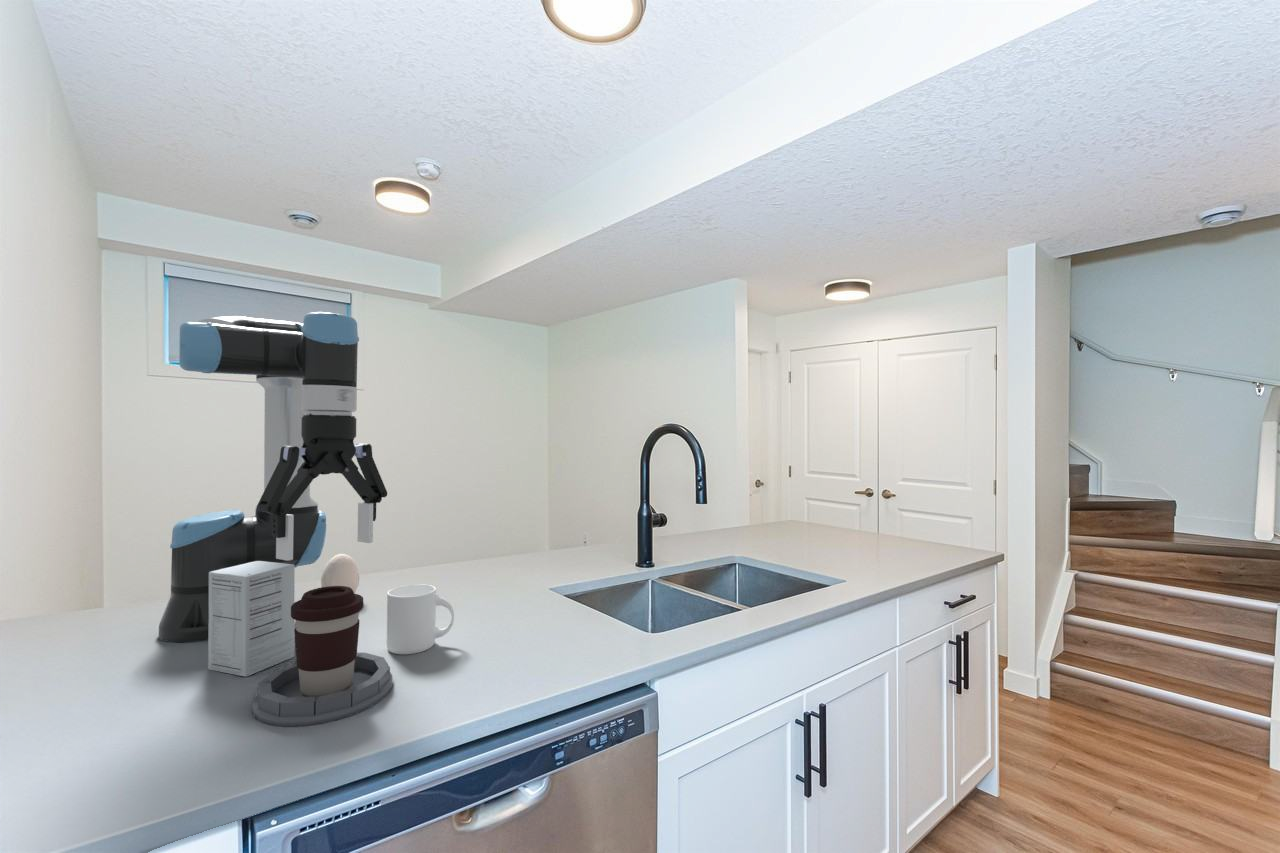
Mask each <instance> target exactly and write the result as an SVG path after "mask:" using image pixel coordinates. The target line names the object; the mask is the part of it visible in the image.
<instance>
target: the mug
mask: <svg viewBox="0 0 1280 853" xmlns="http://www.w3.org/2000/svg"><path fill="white" fill-rule="evenodd" d="M386 594H387V595H386V603H387V604H386V648H387V650H388V651H389V652H390V653H392V654H394V655H403V656H404V655H413V654H418V653H421V652H425V651H427V650H429V649H430V648H432V647H433V646H434V644H435V642H436V639H438V638H441V637H444V636H446V635H447V634H448V633H449V632H450V630H451V629H452V626H453V625H454V620H455V612H454V608H453V606H452V605H451V603H450V602H449V601H448V600H447V599H445V598H444V597H442V596H440V595H437V588H436V587H435V586H434V585H430V584H425V583H424V584H422V583H421V584H420V583H416V584H415V583H414V584H406V585H405V584H404V585H399V586H397V587H394V588H391V589H389V590H388V591H387V593H386ZM437 606H439V607H440V606H441V607H444V608H446V609H448V610H449V612H450V614H451V620H450V622H449V623H448V625H447V626H445V627H444V628H440V627H436V624H437V622H436V619H437V618H436V616H437V614H436V613H437V608H436V607H437Z"/></svg>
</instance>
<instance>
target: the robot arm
mask: <svg viewBox="0 0 1280 853" xmlns="http://www.w3.org/2000/svg"><path fill="white" fill-rule="evenodd" d="M359 341H360V338H359V333H358V322H357V320H356V319H355V318H354V317H352V316H350V315H346V314H341V313H334V312H327V311H326V312H323V311H317V312H316V311H314V312H309V313H306V314H305V316H304V317H303V323H301V322H297V321H287V320H277V319H267V318H255V317H247V316H241V315H240V316H239V315H229V316H228V315H226V316H215V317H208V318H204V319H200V320H198V321H196V322H194V321H184V322H182V323H181V324H180V327H179V347H178V348H179V351H178V352H179V362H178V363H179V367H180V368H181V369H182V370H183V371H188V372H195V373H196V372H197V373H202V374H222V375H223V374H227V375H248V376H249V375H251V376H256V377H255V378H256V379H255V381H256V383H258V384H259V386H261V387H262V388H263V389H264V435H263V436H264V439H263V441H264V442H263V444H264V445H263V446H264V449H263V450H264V452H263V454H264V455H263V458H264V459H263V460H264V461H263V462H264V465H263V472H264V474H263V475H264V476H263V482H264V484H263V490H264V491H263V492H262V495H261V496H260V498H259V501H258V503H257V505H256V506H255V515H254V516H245V514H244V512H243V511H242V510H238V509H235V510H222V511H221V510H220V511H215V512H210V513H209V512H208V513H205V514H199V515H195V516H191V517H188V518H185V519H184V518H183V519H182V520H180V521H178V522H177V523H175V525H174V526H173V528H172V530H171V531H172V532H171V543H170V545H169V548H170V549H171V566H170V567H171V569H170V570H171V571H170V572H171V573H170V595H169V596H170V597H169V600H168V602H167V604H166V607H165V608H164V612H163V614H162V617H161V620H160V621H159V624H158V639H159V640H160V641H163V642H169V643H170V642H171V643H189V642H199V641H205V640H208V628H209V572H211V571H215V570H219V569H224V568H228V567H233V566H237V565H241V564H245V563H249V562H254V561H266V562H275V563H285V564H294V565H295V568H298V567H303V566H306V565H311V564H315V563H316V562H317V561H318V560H319V559H320V557H321V555H322V553H323V549H324V546H325V540H326V534H327V523H326V522H327V514H326V513H325V512H324V511H322V510H318V506H319V504H318V503H317V501H315V500H314V499H313V498H312V497H311V483H312V482H313V480H314V479H316V478H318V477H319V476H320V475H329V474H341V475H342V476H343V477H344V478H345V479H346V480H347V482H348V483H349V485H350V486H351V487H352V488H353V490H354V491H355V492H356V493H357V495H358V496H359V497H360V498H361V500H362V501H361V502H357V505H358V506H357V542H358V543H365V544H371V543H373V542H374V539H373V538H374V522H376V519H377V503H378V504H380V503H381V502H382V498H386V497H387V496H388V491H387V489H386V486H385V483H384V481H383V479H382V476H381V475H380V474H381V473H380V471H379V469H378V467H377V464H376V463H375V460H374V458H373V447H372V444H370V443H356V444H355V443H354V441H355V438H356V437H357V417H356V416H354V415H353V413H355V412H356V411H357V407H358V406H357V403H358V402H357V400H358V399H357V396H358V395H357V394H358V388H357V387H358V386H357V384H358V383H357V382H358V379H357V378H358V349H359V348H358V346H359V345H358V344H359ZM354 457H355V458H356V461H357V464H356V463H355V462H354V460H353V458H354ZM357 465H358V466H359V467H358V466H357ZM359 468H360V471H361V473H362V474H361V473H360V471H359Z"/></svg>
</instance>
